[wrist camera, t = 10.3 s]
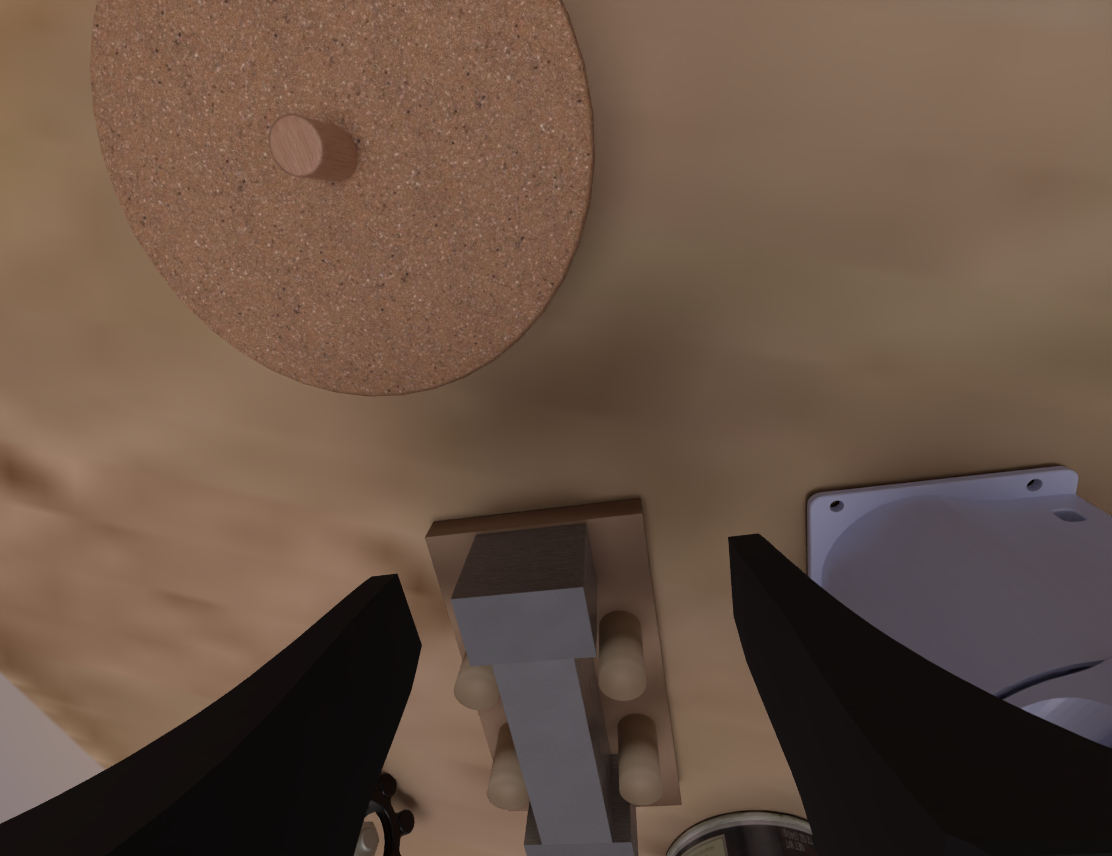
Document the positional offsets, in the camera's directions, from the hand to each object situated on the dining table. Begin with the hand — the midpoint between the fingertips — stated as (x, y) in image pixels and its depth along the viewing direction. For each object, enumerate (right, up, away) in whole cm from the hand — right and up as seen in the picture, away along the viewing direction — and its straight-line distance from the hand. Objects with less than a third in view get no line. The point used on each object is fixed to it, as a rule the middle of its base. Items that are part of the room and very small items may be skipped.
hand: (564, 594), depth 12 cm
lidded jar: (-4, +12, +7) cm, 15 cm away
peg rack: (0, -8, +14) cm, 16 cm away
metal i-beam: (0, -8, +13) cm, 15 cm away
